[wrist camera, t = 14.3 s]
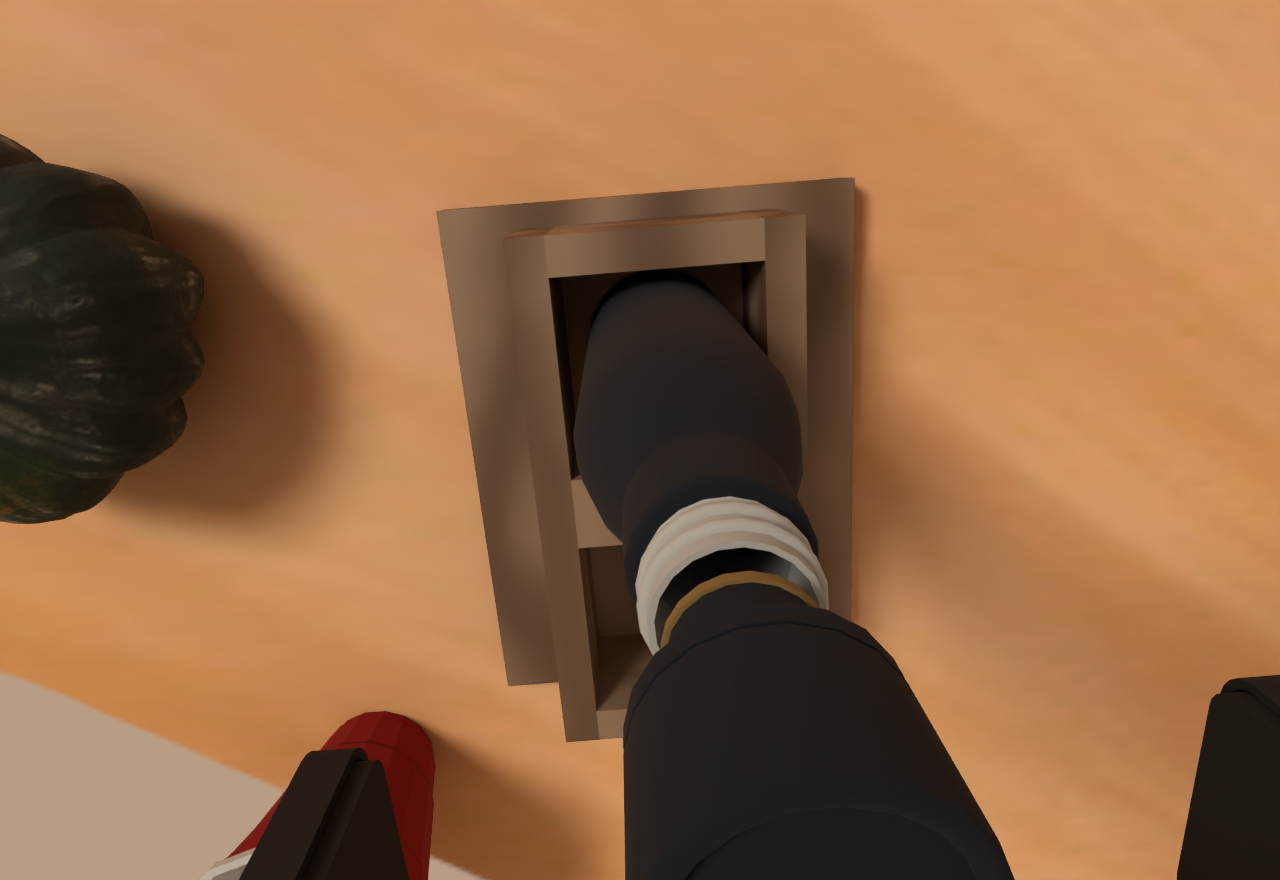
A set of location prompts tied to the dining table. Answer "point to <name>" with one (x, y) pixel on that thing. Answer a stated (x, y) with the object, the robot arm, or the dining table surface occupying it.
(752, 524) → the wine bottle
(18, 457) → the squash
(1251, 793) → the robot arm
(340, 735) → the plastic cup
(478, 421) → the bottle rack
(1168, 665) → the dining table surface
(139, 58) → the dining table surface
